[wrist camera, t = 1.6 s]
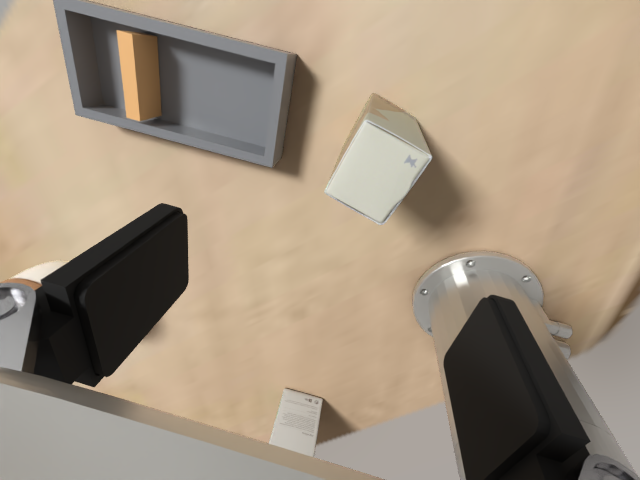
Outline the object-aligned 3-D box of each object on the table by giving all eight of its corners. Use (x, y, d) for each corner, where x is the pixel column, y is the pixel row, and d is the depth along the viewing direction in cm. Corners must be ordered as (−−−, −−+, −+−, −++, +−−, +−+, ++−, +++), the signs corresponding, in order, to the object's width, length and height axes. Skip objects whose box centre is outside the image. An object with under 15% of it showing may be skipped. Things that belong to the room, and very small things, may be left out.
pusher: (157, 36, 25) (132, 34, 23) (161, 115, 28) (140, 121, 26) (143, 32, 25) (116, 29, 23) (149, 112, 28) (126, 117, 26)
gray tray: (297, 54, 25) (287, 53, 22) (281, 158, 29) (272, 167, 27) (84, -1, 25) (51, -7, 23) (101, 109, 30) (75, 114, 27)
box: (373, 91, 25) (368, 112, 16) (417, 118, 26) (439, 154, 16) (341, 148, 28) (321, 194, 19) (382, 171, 28) (383, 229, 19)
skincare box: (284, 385, 47) (247, 513, 34) (326, 398, 47) (305, 531, 34) (277, 415, 52) (241, 538, 39) (315, 426, 52) (292, 553, 38)
